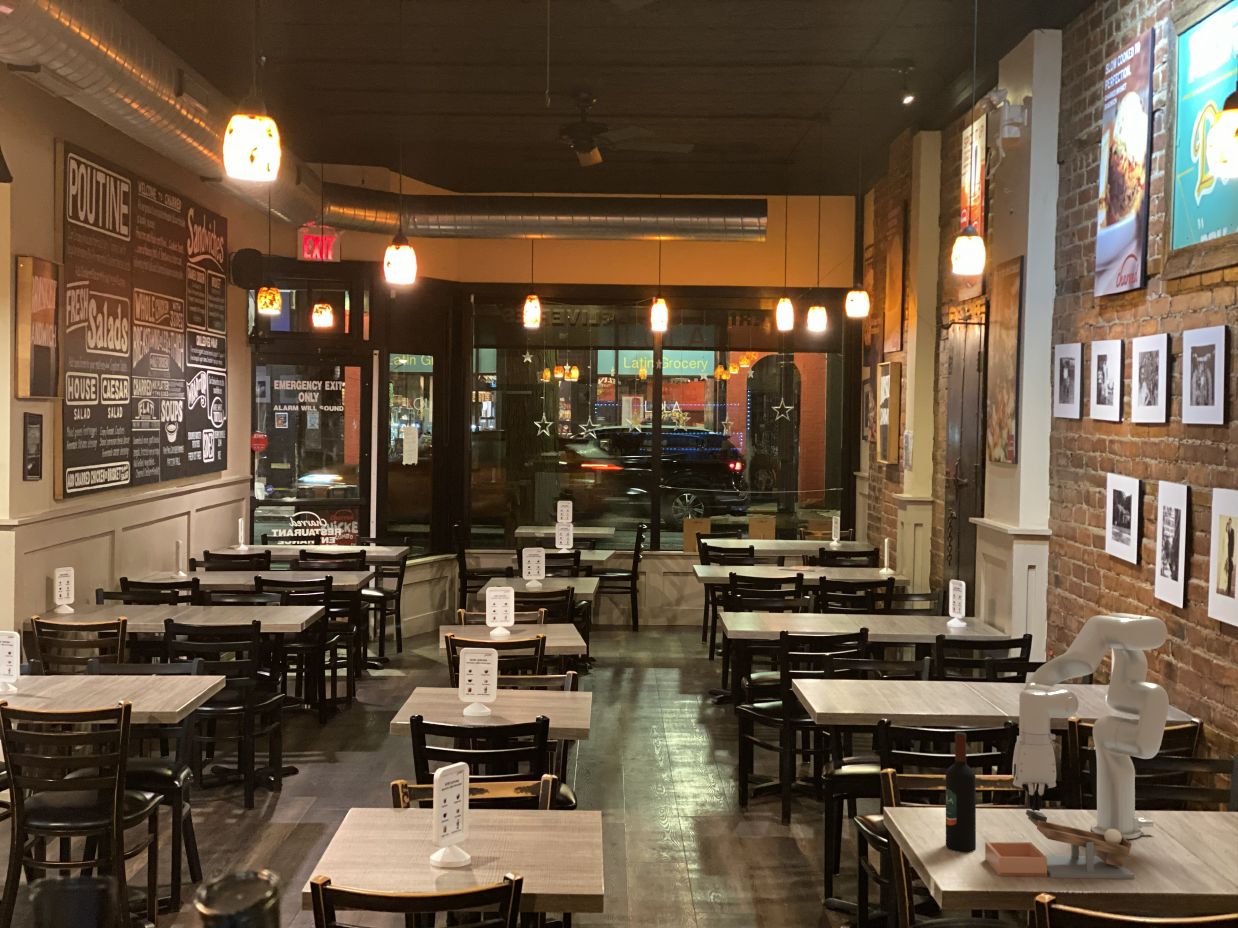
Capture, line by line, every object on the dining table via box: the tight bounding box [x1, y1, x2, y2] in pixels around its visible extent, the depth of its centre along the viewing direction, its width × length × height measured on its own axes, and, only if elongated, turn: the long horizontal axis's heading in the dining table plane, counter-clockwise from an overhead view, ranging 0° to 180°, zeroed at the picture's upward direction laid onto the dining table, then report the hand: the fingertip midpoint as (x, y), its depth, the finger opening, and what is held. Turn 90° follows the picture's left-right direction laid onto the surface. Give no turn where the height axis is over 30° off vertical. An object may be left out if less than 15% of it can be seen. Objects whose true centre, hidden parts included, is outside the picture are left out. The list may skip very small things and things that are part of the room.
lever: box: [1025, 809, 1132, 867], centre depth 283 cm, size 20×17×6 cm
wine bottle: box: [945, 731, 977, 853], centre depth 294 cm, size 8×8×30 cm
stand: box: [1043, 842, 1135, 880], centre depth 278 cm, size 20×13×8 cm, turn 88°
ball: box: [1104, 829, 1122, 845], centre depth 278 cm, size 4×4×4 cm
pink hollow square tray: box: [984, 841, 1048, 878], centre depth 279 cm, size 12×12×4 cm
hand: (1034, 808), depth 289 cm, fingers closed
